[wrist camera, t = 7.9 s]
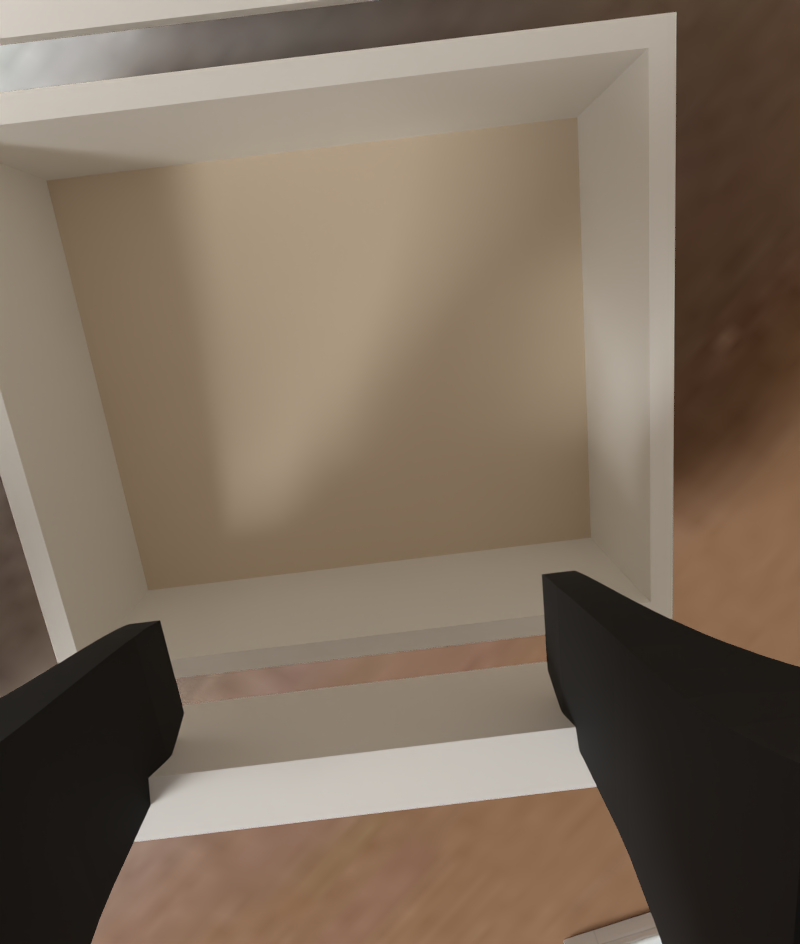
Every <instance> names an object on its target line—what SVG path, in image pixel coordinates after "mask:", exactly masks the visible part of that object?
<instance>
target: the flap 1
mask: <svg viewBox="0 0 800 944" xmlns="http://www.w3.org/2000/svg"><path fill="white" fill-rule="evenodd" d="M369 1H377V0H0V45H7V44H16V43H24V42H33V41H41V40H49V39H58V38H66V37H75V36H83V35H91V34H100V33H108V32H117V31H125V30H133V29H142V28H150V27H159V26H167V25H175V24H184V23H192V22H201V21H209V20H217V19H226V18H234V17H243V16H251V15H259V14H268V13H276V12H285V11H293V10H301V9H310V8H318V7H327V6H335V5H343V4H352V3H360V2H369Z"/></svg>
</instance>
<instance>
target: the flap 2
mask: <svg viewBox="0 0 800 944" xmlns="http://www.w3.org/2000/svg"><path fill="white" fill-rule="evenodd" d="M182 707H183V710H184V716H183V719H182V723H181V726H180V730H179V734H178V737H177V741H176V744H175V747H174V750H173V753H172V756H171V757H170V758H169V759H168V760H167V761H166V762H165V763H164V764H163V765H162V766H161V767H160V768H159V769H157V770H156V771H155V772H154V773H153V774H152V775H151V776H150V777H149V778H148V779H149V791H150V804H151V806H150V808H149V810H148V812H147V814H146V816H145V819H144V821H143V823H142V825H141V827H140V829H139V831H138V834H137V836H136V838H135V840H134V842H138V841H146V840H155V839H163V838H171V837H180V836H188V835H197V834H205V833H213V832H222V831H230V830H238V829H247V828H255V827H264V826H272V825H280V824H289V823H297V822H305V821H314V820H322V819H330V818H339V817H347V816H356V815H364V814H372V813H381V812H389V811H397V810H406V809H414V808H423V807H431V806H439V805H448V804H456V803H464V802H473V801H481V800H489V799H498V798H506V797H515V796H523V795H531V794H540V793H548V792H556V791H565V790H573V789H581V788H590V787H597V786H596V784H595V782H594V780H593V778H592V775H591V773H590V771H589V769H588V767H587V765H586V763H585V761H584V759H583V757H582V755H581V753H580V751H579V746H578V739H577V733H576V727H575V726H574V725H573V724H572V723H571V722H570V721H569V719H568V718H567V717H566V716H565V715H564V714H563V713H562V711H561V709H560V706H559V703H558V700H557V697H556V694H555V691H554V688H553V685H552V682H551V679H550V676H549V673H548V669H547V662H538V663H530V664H521V665H513V666H505V667H496V668H488V669H480V670H471V671H463V672H454V673H446V674H438V675H429V676H421V677H413V678H404V679H396V680H387V681H379V682H371V683H362V684H354V685H346V686H337V687H329V688H321V689H312V690H304V691H295V692H287V693H279V694H270V695H262V696H254V697H245V698H237V699H228V700H220V701H212V702H203V703H195V704H187V705H182Z"/></svg>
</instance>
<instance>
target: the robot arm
mask: <svg viewBox="0 0 800 944" xmlns="http://www.w3.org/2000/svg"><path fill="white" fill-rule="evenodd" d="M542 586H543V602H544V619H545V636H546V652H547V669H548V673H549V676H550V679H551V682H552V685H553V688H554V691H555V694H556V697H557V700H558V703H559V706H560V709H561V711H562V713H563V714H564V715H565V716H566V717H567V718H568V719H569V721H570V722H571V723H572V724H573V725H574V726H575V727H576V733H577V739H578V746H579V751H580V753H581V755H582V757H583V759H584V761H585V763H586V765H587V767H588V769H589V771H590V773H591V775H592V778H593V780H594V782H595V784H596V786H597V788H598V790H599V792H600V794H601V796H602V798H603V800H604V802H605V804H606V806H607V808H608V810H609V812H610V814H611V816H612V818H613V820H614V822H615V824H616V826H617V829H618V831H619V833H620V835H621V838H622V840H623V842H624V844H625V847H626V849H627V851H628V854H629V856H630V858H631V861H632V864H633V866H634V869H635V872H636V874H637V877H638V880H639V882H640V885H641V888H642V890H643V893H644V896H645V898H646V901H647V904H648V906H649V909H650V912H651V914H652V917H653V920H654V922H655V925H656V928H657V931H658V933H659V936H660V939H661V942H662V944H800V667H798V666H794V665H791V664H787V663H784V662H781V661H778V660H775V659H771V658H768V657H765V656H762V655H759V654H756V653H754V652H751V651H748V650H745V649H742V648H740V647H737V646H734V645H731V644H728V643H726V642H723V641H720V640H718V639H715V638H713V637H710V636H708V635H705V634H703V633H701V632H698V631H696V630H694V629H692V628H689V627H687V626H685V625H683V624H680V623H678V622H676V621H674V620H672V619H669V618H667V617H665V616H663V615H661V614H659V613H657V612H655V611H653V610H651V609H649V608H647V607H645V606H643V605H641V604H639V603H637V602H635V601H633V600H631V599H630V598H628V597H626V596H624V595H622V594H620V593H618V592H616V591H615V590H613V589H611V588H609V587H607V586H605V585H603V584H602V583H600V582H598V581H596V580H594V579H592V578H590V577H588V576H586V575H584V574H582V573H580V572H577V571H575V570H574V571H565V572H557V573H549V574H542ZM183 716H184V710H183V707H182V703H181V699H180V695H179V691H178V687H177V683H176V680H175V676H174V672H173V668H172V664H171V660H170V656H169V652H168V649H167V645H166V641H165V637H164V633H163V629H162V625H161V622H160V620H159V621H151V622H142V623H134V624H128V625H125V626H123V627H121V628H118V629H116V630H114V631H113V632H111V633H109V634H107V635H105V636H103V637H102V638H100V639H98V640H96V641H95V642H93V643H91V644H90V645H88V646H86V647H85V648H83V649H81V650H80V651H78V652H76V653H75V654H73V655H72V656H70V657H68V658H67V659H65V660H63V661H62V662H60V663H59V664H57V665H55V666H54V667H52V668H50V669H49V670H47V671H46V672H44V673H42V674H41V675H39V676H37V677H36V678H34V679H33V680H31V681H29V682H28V683H26V684H24V685H23V686H21V687H19V688H17V689H16V690H14V691H12V692H11V693H9V694H7V695H5V696H4V697H2V698H0V944H91V942H92V939H93V936H94V933H95V930H96V928H97V925H98V922H99V919H100V917H101V914H102V912H103V909H104V907H105V905H106V902H107V900H108V897H109V895H110V893H111V890H112V888H113V885H114V883H115V881H116V879H117V877H118V875H119V872H120V870H121V868H122V866H123V864H124V862H125V860H126V857H127V855H128V853H129V851H130V849H131V847H132V844H133V842H134V840H135V838H136V836H137V834H138V831H139V829H140V827H141V825H142V823H143V821H144V819H145V816H146V814H147V812H148V810H149V808H150V806H151V804H150V791H149V779H148V778H149V777H150V776H151V775H152V774H153V773H154V772H155V771H156V770H157V769H159V768H160V767H161V766H162V765H163V764H164V763H165V762H166V761H167V760H168V759H169V758H170V757H171V756H172V753H173V750H174V747H175V744H176V741H177V737H178V734H179V730H180V726H181V723H182V719H183Z"/></svg>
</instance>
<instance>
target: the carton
mask: <svg viewBox="0 0 800 944" xmlns="http://www.w3.org/2000/svg"><path fill="white" fill-rule="evenodd" d="M676 17H677V12H671V13H663V14H654V15H646V16H638V17H629V18H621V19H612V20H604V21H596V22H587V23H579V24H570V25H562V26H554V27H545V28H537V29H528V30H520V31H512V32H503V33H495V34H487V35H478V36H470V37H461V38H453V39H445V40H436V41H428V42H419V43H411V44H403V45H394V46H386V47H377V48H369V49H361V50H352V51H344V52H335V53H327V54H319V55H310V56H302V57H293V58H285V59H277V60H268V61H260V62H251V63H243V64H235V65H226V66H218V67H209V68H201V69H193V70H184V71H176V72H167V73H159V74H151V75H142V76H134V77H125V78H117V79H109V80H100V81H92V82H83V83H75V84H67V85H58V86H50V87H41V88H33V89H25V90H16V91H8V92H0V476H1V479H2V482H3V485H4V489H5V492H6V495H7V499H8V502H9V505H10V508H11V512H12V515H13V518H14V522H15V525H16V528H17V532H18V535H19V538H20V541H21V545H22V548H23V551H24V555H25V558H26V561H27V564H28V568H29V571H30V574H31V578H32V581H33V584H34V587H35V591H36V594H37V597H38V601H39V604H40V607H41V610H42V614H43V617H44V620H45V624H46V627H47V630H48V634H49V637H50V640H51V643H52V647H53V650H54V653H55V657H56V660H57V663H58V664H59V663H60V662H62V661H63V660H65V659H67V658H68V657H70V656H72V655H73V654H75V653H76V652H78V651H80V650H81V649H83V648H85V647H86V646H88V645H90V644H91V643H93V642H95V641H96V640H98V639H100V638H102V637H103V636H105V635H107V634H109V633H111V632H113V631H114V630H116V629H118V628H121V627H123V626H125V625H128V624H134V623H142V622H151V621H159V620H160V622H161V625H162V629H163V633H164V637H165V641H166V645H167V649H168V652H169V656H170V660H171V664H172V668H173V672H174V676H175V679H177V678H185V677H193V676H202V675H210V674H219V673H227V672H235V671H244V670H252V669H260V668H269V667H277V666H286V665H294V664H302V663H311V662H319V661H327V660H336V659H344V658H353V657H361V656H369V655H378V654H386V653H394V652H403V651H411V650H420V649H428V648H436V647H445V646H453V645H461V644H470V643H478V642H487V641H495V640H503V639H512V638H520V637H528V636H537V635H545V619H544V602H543V586H542V574H549V573H557V572H565V571H574V570H575V571H577V572H580V573H582V574H584V575H586V576H588V577H590V578H592V579H594V580H596V581H598V582H600V583H602V584H603V585H605V586H607V587H609V588H611V589H613V590H615V591H616V592H618V593H620V594H622V595H624V596H626V597H628V598H630V599H631V600H633V601H635V602H637V603H639V604H641V605H643V606H645V607H647V608H649V609H651V610H653V611H655V612H657V613H659V614H661V615H663V616H665V617H667V618H669V619H672V602H673V456H674V309H675V163H676Z"/></svg>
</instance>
